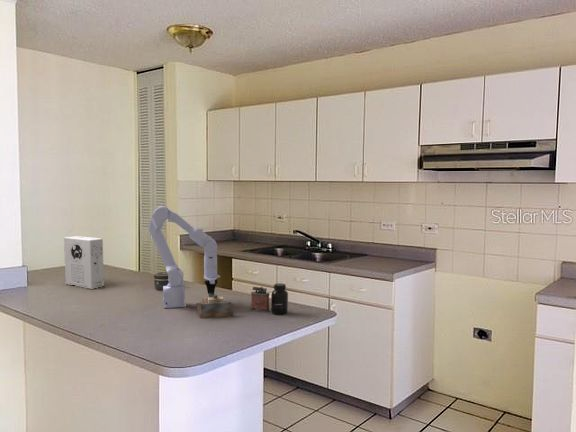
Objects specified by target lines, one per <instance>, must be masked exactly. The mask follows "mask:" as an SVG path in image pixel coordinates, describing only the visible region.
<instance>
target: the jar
mask: <svg viewBox="0 0 576 432" xmlns="http://www.w3.org/2000/svg"><path fill="white" fill-rule="evenodd" d="M153 277H154V278H153V282H154V283H153V285H154V289H155V290H156V289H157V290H156V291H160V290H163V286H168V283H169V281H168V274H167V271H163V272H157V273H154V274H153Z"/></svg>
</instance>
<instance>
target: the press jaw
mask: <svg viewBox="0 0 576 432" xmlns="http://www.w3.org/2000/svg"><path fill="white" fill-rule="evenodd" d="M214 295H216V293H215V292H214V293H208V292H207V296H208V297H214ZM206 303H208V299H206Z"/></svg>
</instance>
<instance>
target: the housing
mask: <svg viewBox="0 0 576 432" xmlns="http://www.w3.org/2000/svg"><path fill="white" fill-rule="evenodd" d="M223 301H224V297H223V296H218V294H215V295H214V297H208V303H214V302H223Z"/></svg>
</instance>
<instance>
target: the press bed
mask: <svg viewBox="0 0 576 432" xmlns="http://www.w3.org/2000/svg"><path fill="white" fill-rule="evenodd" d="M206 299H208V295H205V296H204V295H203V296H202V301H203V302H196V309H197V313H198V316H199V319H202V318H203V319H204V318H217V317H218V318H219V317H220V318H221V317H232V316H233V310H232V302H231V301H227V300H225V301H224V300H223V302H214V303H206Z"/></svg>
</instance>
